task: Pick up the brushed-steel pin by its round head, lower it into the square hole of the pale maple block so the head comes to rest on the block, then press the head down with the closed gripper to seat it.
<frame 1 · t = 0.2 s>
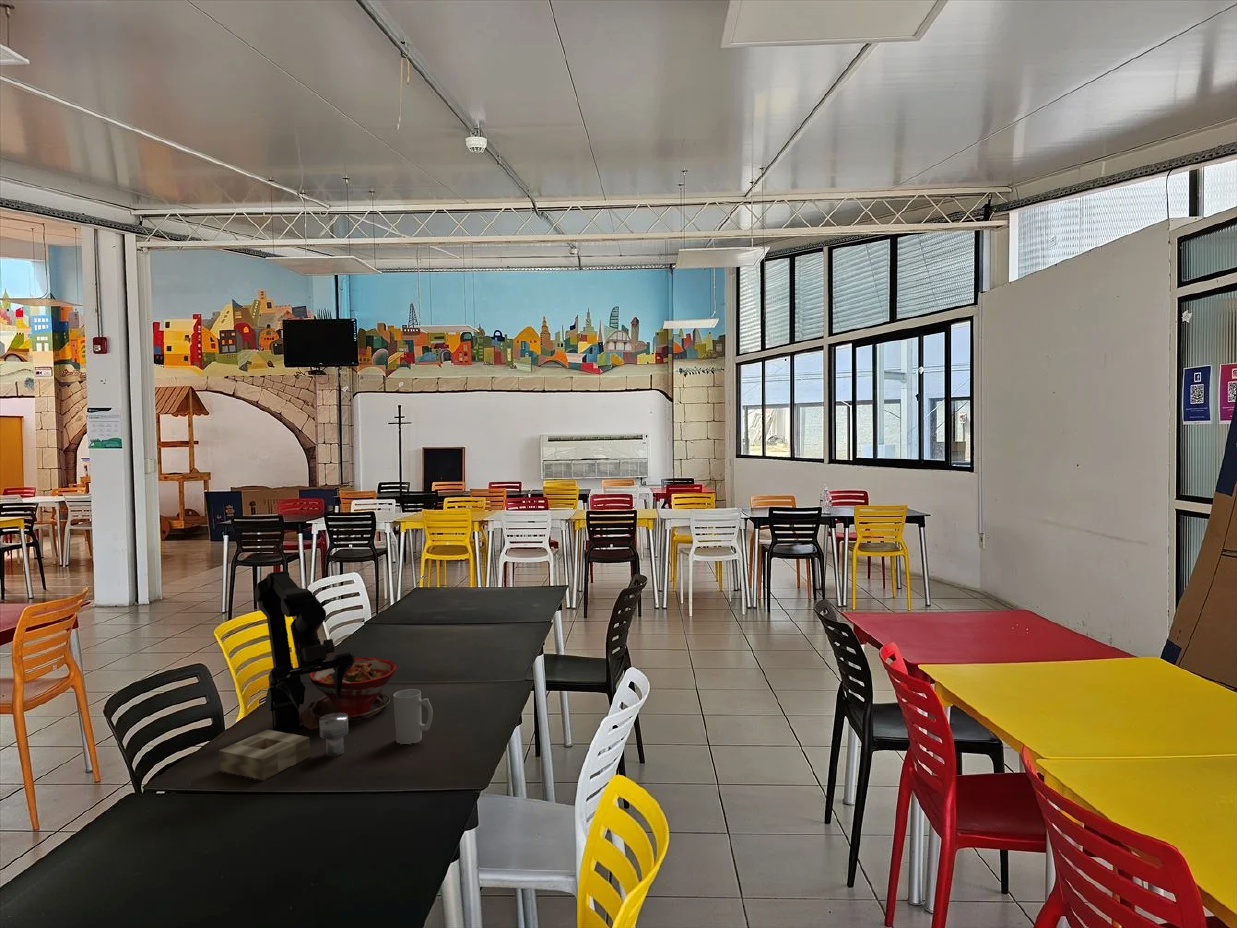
hand: (319, 703, 192), 15 cm above the table, tool tilted 30°, fingers open, 9 cm apart
stew: (351, 713, 229), on the table
mug: (415, 741, 207), on the table
pin: (335, 753, 200), on the table
hitch block: (265, 764, 195), on the table
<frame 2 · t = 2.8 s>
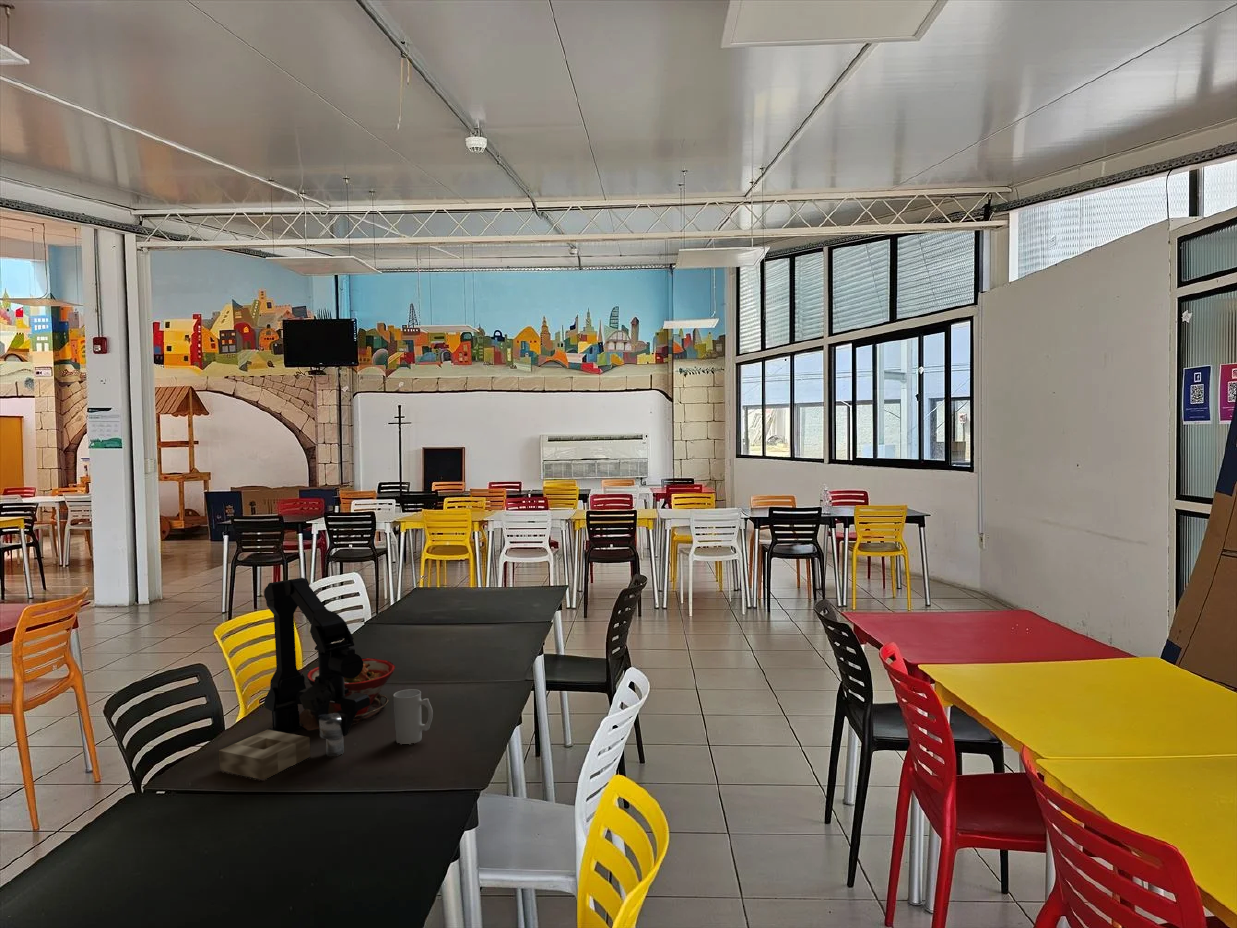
hand: (334, 733, 200), 5 cm above the table, tool pointing down, fingers closed on pin, 7 cm apart
pin: (335, 753, 200), on the table, touching gripper
everything else where it was.
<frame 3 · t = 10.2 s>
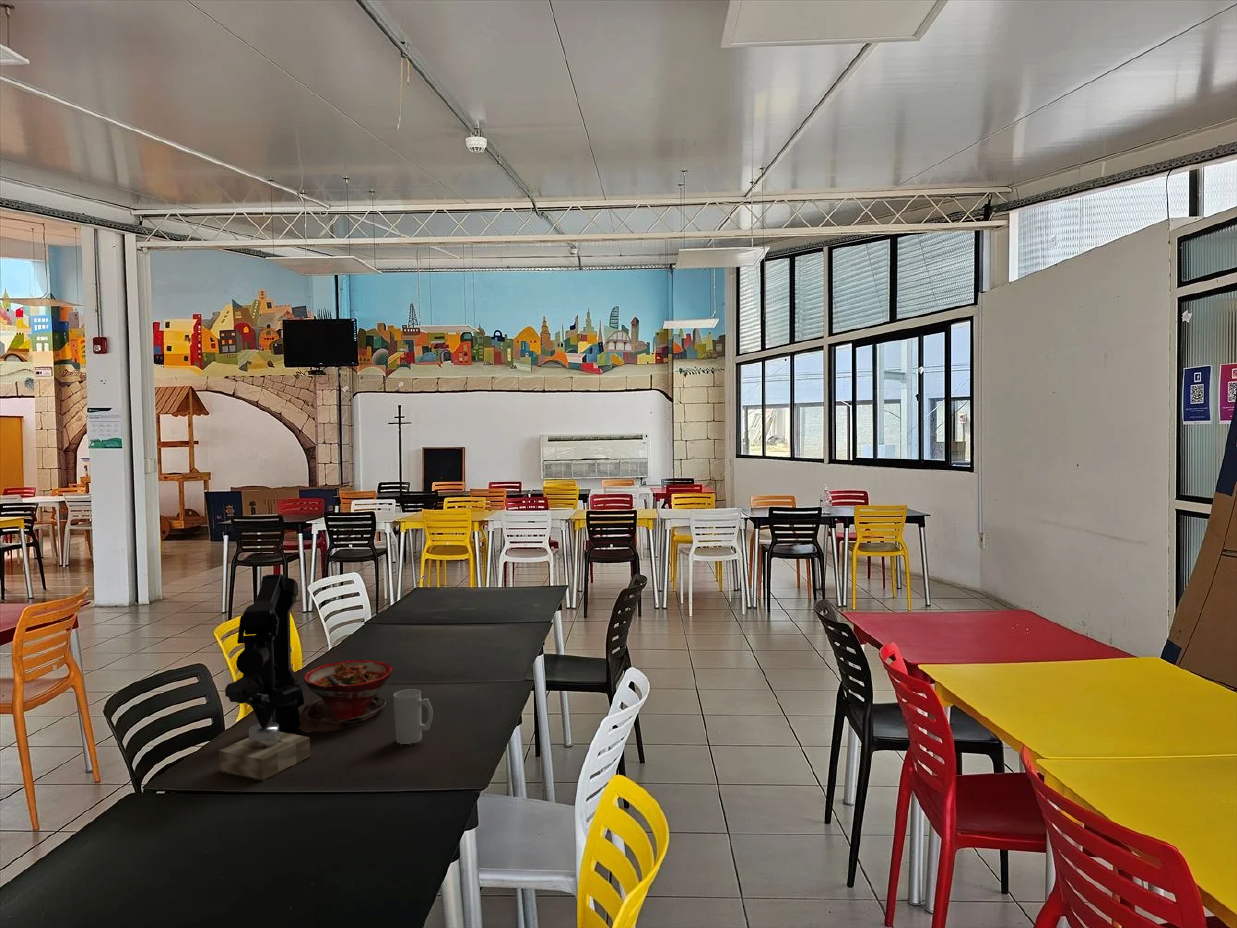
hand: (264, 727, 194), 9 cm above the table, tool pointing down, fingers closed, pressing on pin
stew: (346, 716, 226), on the table, touching arm
pin: (265, 764, 195), resting in hitch block, touching gripper
everything else where it was.
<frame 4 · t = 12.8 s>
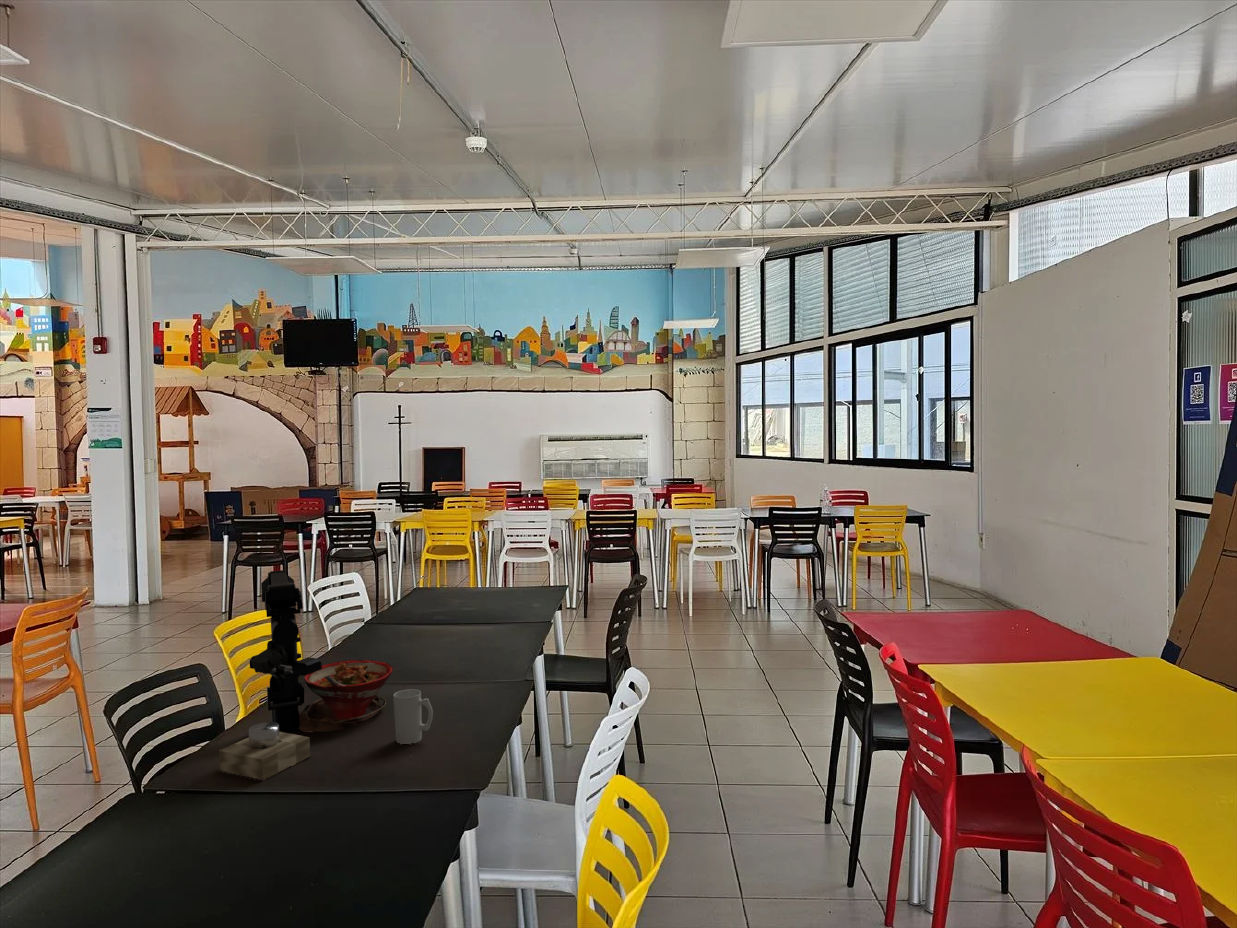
hand: (287, 697, 203), 13 cm above the table, tool pointing down, fingers closed
stew: (346, 717, 226), on the table
pin: (265, 764, 195), resting in hitch block
everything else where it was.
at the end: pin 0.1 cm off-centre on the hitch block, point 0.0 cm above the hitch block's base; pin tilted 0°; the gripper is holding nothing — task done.
